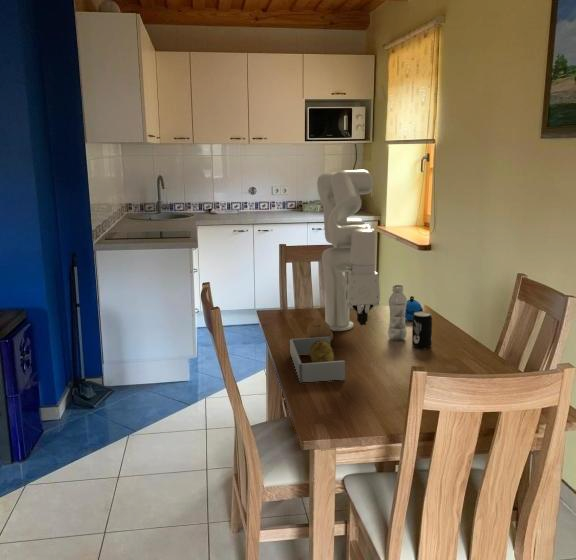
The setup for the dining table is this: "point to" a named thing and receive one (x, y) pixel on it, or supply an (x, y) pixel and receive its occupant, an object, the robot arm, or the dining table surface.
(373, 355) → the dining table surface
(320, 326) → the natural sponge
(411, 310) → the ornament
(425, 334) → the beverage can
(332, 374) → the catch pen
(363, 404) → the dining table surface
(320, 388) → the dining table surface
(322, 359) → the potato
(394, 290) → the plastic bottle
